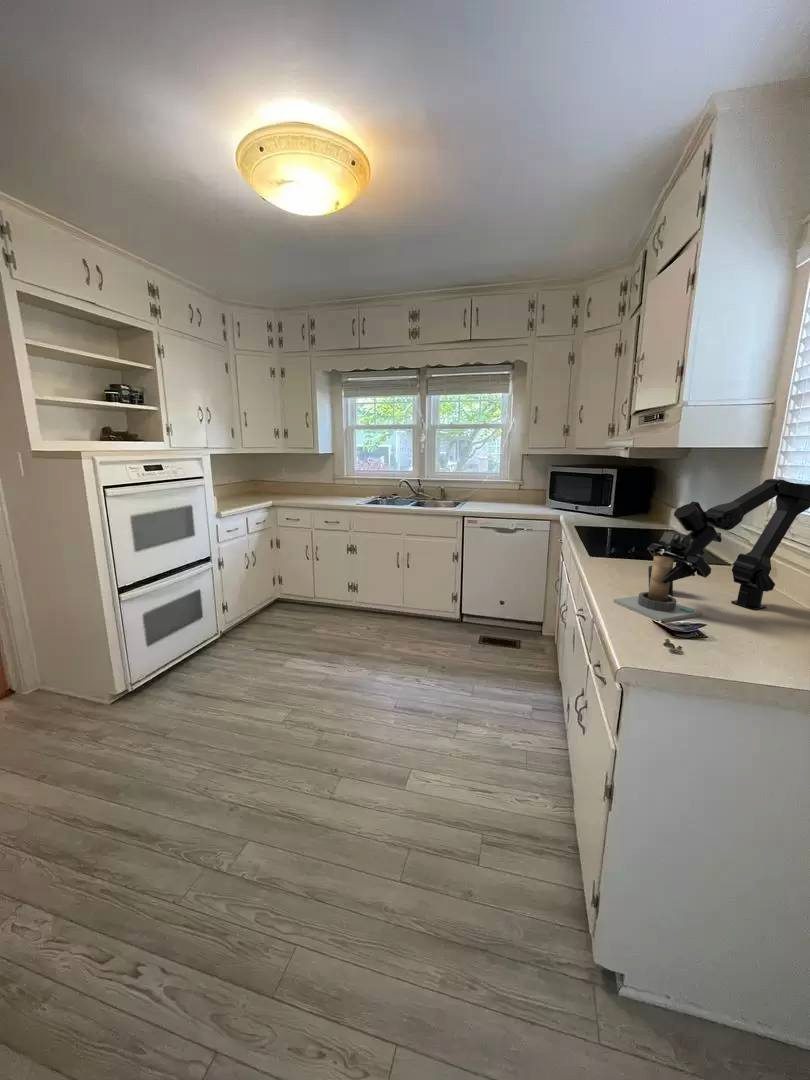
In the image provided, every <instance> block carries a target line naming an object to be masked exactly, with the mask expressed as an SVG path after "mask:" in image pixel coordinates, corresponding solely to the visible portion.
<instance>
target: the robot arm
mask: <svg viewBox="0 0 810 1080" xmlns="http://www.w3.org/2000/svg"><path fill="white" fill-rule="evenodd" d="M775 497H776V498H775ZM773 498H775V505H776V509H775V511H774V513H773V514H772V515H771V518H770V519H769V521H768V523H767V525H765V528H764V529H763V531H762V533H761V534H760V535H759V537H758V539H757V540H756V542H755V544H754V545H753V547H752V549H751V550H750V551H749V552H747V553H745V554H744V553H739V554H738V555H737V558H736V559H735V561H734V562H733V563H732V568H731V572H732V578H733V582H734V583H736V584H740V585H739V591H738V593H737V599H736V600H731V602H730V603H731V604H733V605H734V604H735V605H737V606H740V607H742V608H747V609H749V610H753V611H754V610H761V609H766V608H767V605H764V604H763V603H762V601H763V596H764V594H765V593H764V592H766V593H767V592H771V591H773V589H774V588H775V586H776V583H775V582H774V580H773V579H772V578H771V576H770V573H771V571H772V563H771V558H772V557H773V555H774V553H775V551H776V550H777V548H778V547H779V545H780V544H781V542H782V540H783V539H784V537H785V535H786V534H787V533H788V530H789V529H790V527H791V526H792V525H793V523H794V521H795V520H796V518H797V516H798V515H800V514H802V513H803V512H805V511H807V510H809V509H810V484H808V483H799V482H791V481H788V480H785V479H778V478H767V479H765V480H764V481H763V482H762V483H761V484H759V485H758V486H756V487H754V488H752V489H751V490H748V492H745V493H744V494H743V495H741V496H739V497H738V498H736V499H734V500H732V501H730V502H726V503H722V504H718V505H715V506H713V507H710V508H708V509H707V510H706V511H705V510H703V508H702V506H701V504H700V503H699V502H697V501H691V502H689V503H687V504H684V505H682V506H679V507H678V508H676V510H674V512H673V516H674V518H675V519H676V520H677V522H678V523H679V524H680V526H682V528H683V529H684V530H685V531H687V532H688V534H684V533H682V534H680V535H679V534H676V533H672V532H668V531H664V532H663V534H662V536H661V537H660V539H659V542H660V543H663V544H665V545H667V548H666V547H665V545H662V544H659V543H651V544H650V545H649V546H647V550H648V551H649V553H650V554H651V556H652V557H653V558H654V556H665V557H670V558H673V559H674V562H676V563H675V566H673V569H672V570H671V571H670V572H669V573H668V575H667V576H666V577H665V578H664V579H663V580H662V582H663V583H669V582H672V581H673V582H675V581H677V580H680V579H683V578H684V579H685V578H688V577H695V576H696V575H697V576H699V577H702V578H704V579H706V578H707V577H709V576H710V574H712V567H711V566H710V565H709V563H708V562H707V560H706V559H705V558H704V557H701V556H703V555H704V554H705V551H704V550H705V548H707V547H708V546H709V545H710V544H711V543H712V542H716V543H722V533H721V532H719V531H717V530H716V529H718V530H724V531H730V530H733V529H734V528H735V527H736V526H738V525H739V524H740V523H742V521H743V520H744V516H746V515H747V514H749V513H750V512H752V511H753V510H755V509H757V508H758V507H760V506H761V505H763V504H765V503H766V502H767V503H768V501H770V500H772V499H773ZM667 549H668V550H669V551H668V550H667ZM651 572H652V569H651V571H650V573H649V572H648V578H649V577H650V578H651Z"/></svg>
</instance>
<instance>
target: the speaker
mask: <svg viewBox="0 0 810 1080" xmlns="http://www.w3.org/2000/svg"><path fill="white" fill-rule="evenodd" d="M652 566H653V564H652V565H649V566H648V567H647V569H648V574H649V573H650V571H651V569H652ZM673 568H674V567H673ZM673 568H672V569H673ZM650 579H651V578H650V577H649V576H648V587H649V586H650ZM673 584H674V581H672V582H670V587H669V593H670V594H669V593H668V594H669V596H671V597H674V585H673Z"/></svg>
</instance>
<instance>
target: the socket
mask: <svg viewBox="0 0 810 1080" xmlns="http://www.w3.org/2000/svg"><path fill="white" fill-rule="evenodd" d="M648 592H649V591H643V592H640V593H639V594H638V595H635V596H627V597H620V598H614V599H613V604H617V605H619V606H622V607H623V608H626V609H629V610H630V611H633V612H635V613H638V614H640V615H642V616H645V617H647V618H650V619H652V620H654V621H656V620H658V621H657V622H659V621H666V622H671V621H676V620H683V619H689V618H694V617H700V616H701V615H702V611H699V610H696V609H693V608H691V607H688V606H685V605H683V604H680V603H677V601H678V600H676V598H674V596H671V595H668V599H667V602H659V601H654V600H650V599H648Z"/></svg>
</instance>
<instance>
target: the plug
mask: <svg viewBox="0 0 810 1080" xmlns="http://www.w3.org/2000/svg"><path fill="white" fill-rule="evenodd" d="M674 562H675V561H674V559H673V558H670V557H665V556H654V557H653V560H652V565H653V566H652V565H651V566H652V572H651V579H650V586H649V585H648V591H647V592H648V599H650V600H654V601H659V602H667V599H668V596H669V587H670V582H669V583H663V582H662V580H663V579H664V578H665V577H666V576H667V575H668V573H669V572H670V571H671V570H672V568H674Z"/></svg>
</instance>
